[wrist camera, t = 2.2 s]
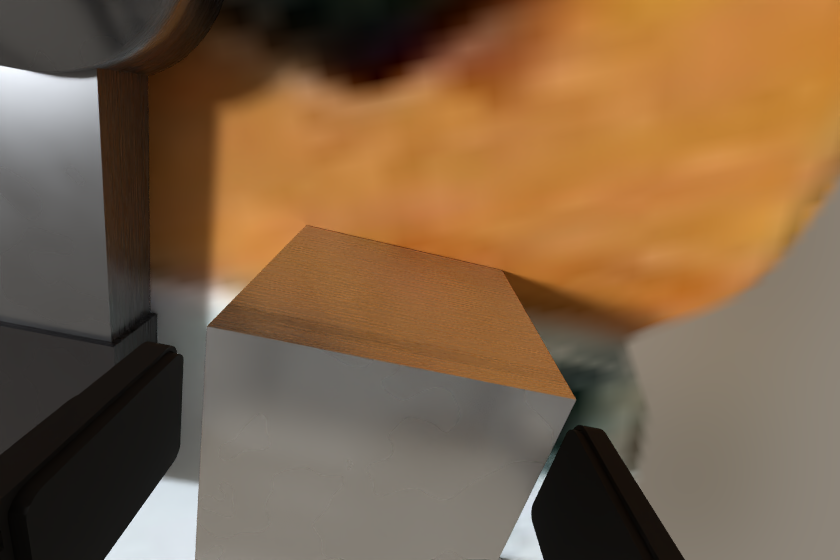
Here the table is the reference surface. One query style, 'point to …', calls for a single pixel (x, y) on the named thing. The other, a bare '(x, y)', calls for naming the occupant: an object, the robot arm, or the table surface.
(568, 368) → the table surface
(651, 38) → the table surface
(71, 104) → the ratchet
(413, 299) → the grey block
